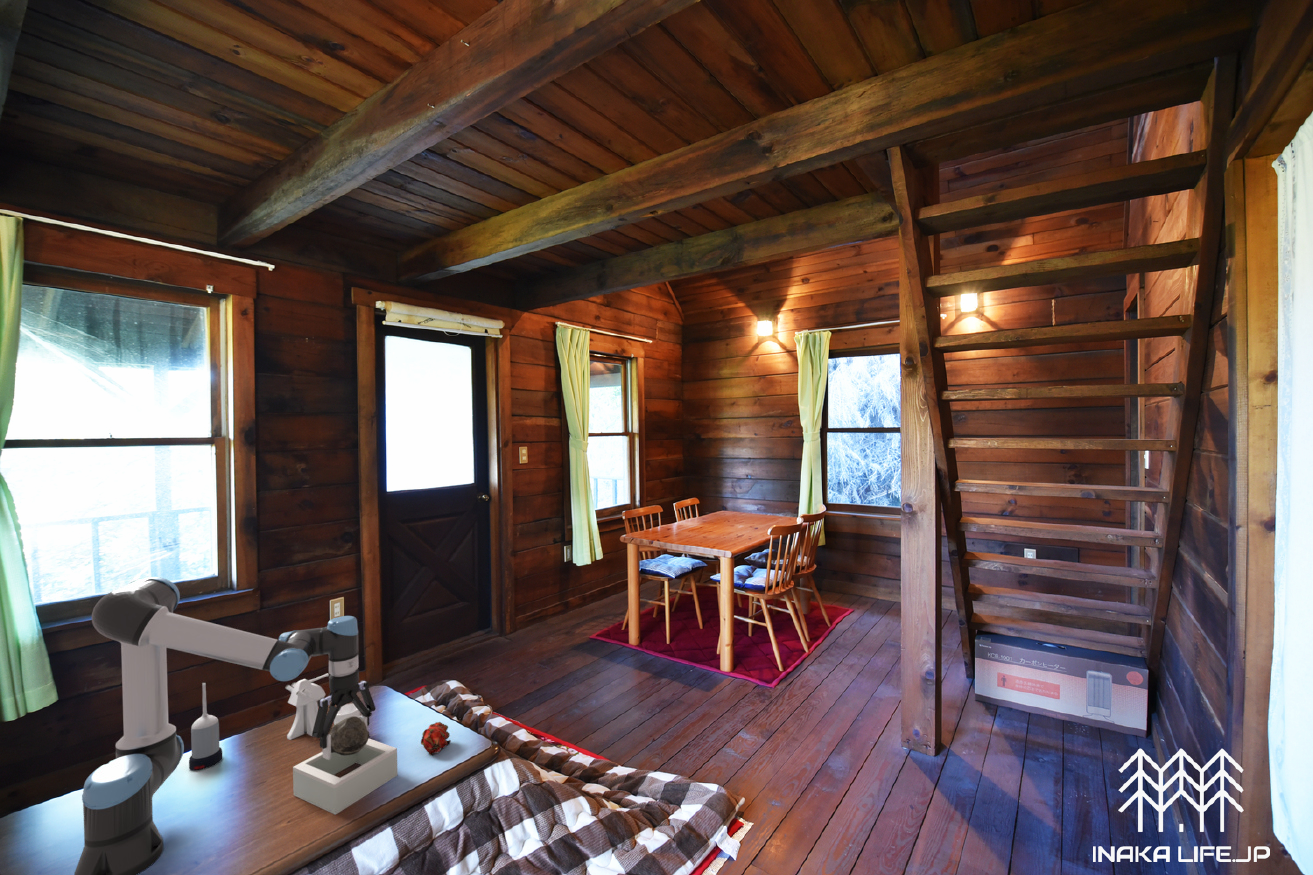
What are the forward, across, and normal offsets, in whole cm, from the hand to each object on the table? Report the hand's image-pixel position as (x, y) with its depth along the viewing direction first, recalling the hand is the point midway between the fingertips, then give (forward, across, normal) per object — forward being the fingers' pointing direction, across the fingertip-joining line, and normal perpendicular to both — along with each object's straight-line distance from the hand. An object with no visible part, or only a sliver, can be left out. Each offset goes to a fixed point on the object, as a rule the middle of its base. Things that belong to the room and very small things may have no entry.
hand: (345, 747), depth 160 cm
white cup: (+11, +16, +24) cm, 31 cm away
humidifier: (+11, -12, +52) cm, 54 cm away
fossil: (+1, 0, -1) cm, 1 cm away
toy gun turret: (+11, +14, +42) cm, 46 cm away
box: (+11, 0, 0) cm, 11 cm away
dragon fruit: (+11, +24, -9) cm, 28 cm away
